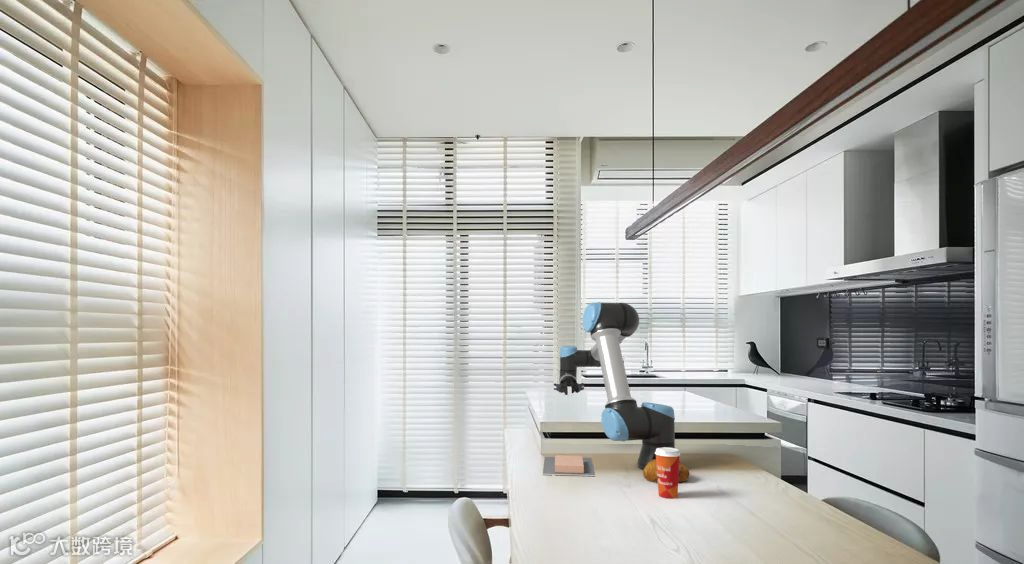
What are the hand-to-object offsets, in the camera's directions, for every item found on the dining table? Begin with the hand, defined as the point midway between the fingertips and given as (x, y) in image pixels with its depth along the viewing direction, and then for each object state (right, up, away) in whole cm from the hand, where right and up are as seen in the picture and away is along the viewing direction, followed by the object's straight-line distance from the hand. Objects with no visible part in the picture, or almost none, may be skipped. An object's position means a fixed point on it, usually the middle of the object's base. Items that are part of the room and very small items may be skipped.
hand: (569, 392), depth 231 cm
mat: (-2, -25, -14) cm, 29 cm away
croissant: (+30, -24, -29) cm, 48 cm away
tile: (-1, -23, -10) cm, 25 cm away
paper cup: (+25, -23, -50) cm, 60 cm away
